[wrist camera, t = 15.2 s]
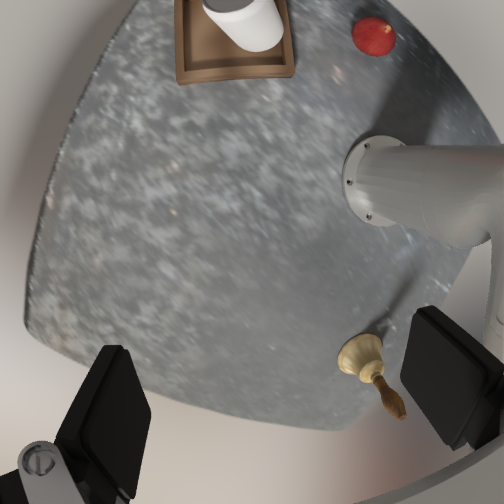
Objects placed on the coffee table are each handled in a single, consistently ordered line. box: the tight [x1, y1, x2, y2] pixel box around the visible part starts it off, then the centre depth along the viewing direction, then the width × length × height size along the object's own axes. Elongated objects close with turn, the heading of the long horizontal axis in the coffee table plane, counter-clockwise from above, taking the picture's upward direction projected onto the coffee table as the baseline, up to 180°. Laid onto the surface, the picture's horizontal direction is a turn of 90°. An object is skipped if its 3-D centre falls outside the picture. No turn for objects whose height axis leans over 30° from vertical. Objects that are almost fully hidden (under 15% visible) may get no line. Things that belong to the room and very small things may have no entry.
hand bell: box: [337, 333, 407, 421], centre depth 39 cm, size 8×8×16 cm
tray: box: [174, 0, 295, 85], centre depth 30 cm, size 14×14×2 cm
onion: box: [352, 17, 396, 57], centre depth 28 cm, size 6×6×8 cm
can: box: [201, 0, 284, 52], centre depth 24 cm, size 6×6×12 cm
